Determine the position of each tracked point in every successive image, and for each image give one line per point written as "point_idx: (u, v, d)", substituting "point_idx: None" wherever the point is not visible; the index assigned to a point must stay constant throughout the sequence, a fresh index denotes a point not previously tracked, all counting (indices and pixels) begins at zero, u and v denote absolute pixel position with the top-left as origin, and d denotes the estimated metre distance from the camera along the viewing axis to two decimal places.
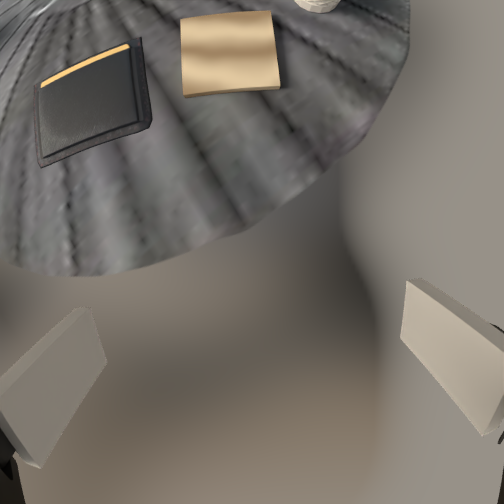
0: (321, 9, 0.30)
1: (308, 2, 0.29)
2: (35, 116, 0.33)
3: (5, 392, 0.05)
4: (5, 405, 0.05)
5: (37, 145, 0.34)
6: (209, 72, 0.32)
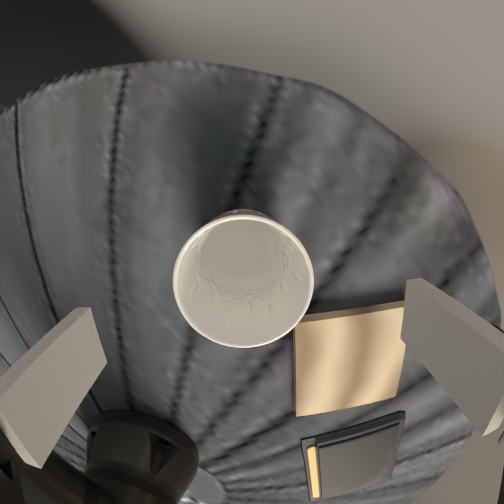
0: None
1: None
2: (344, 493, 0.36)
3: (5, 392, 0.05)
4: (5, 405, 0.05)
5: (371, 485, 0.36)
6: (379, 379, 0.29)
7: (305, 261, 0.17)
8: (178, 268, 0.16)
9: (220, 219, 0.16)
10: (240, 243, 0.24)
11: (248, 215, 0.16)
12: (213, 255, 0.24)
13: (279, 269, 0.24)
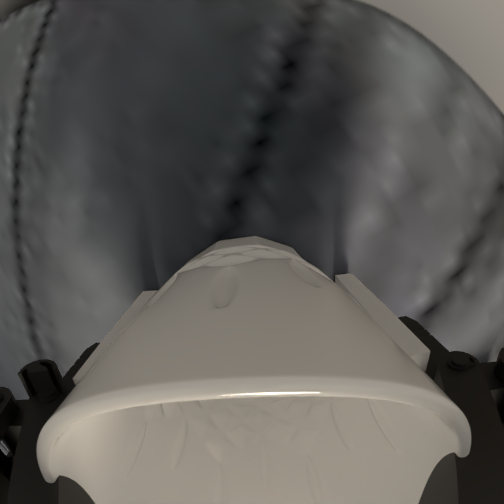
0: None
1: None
2: None
3: None
4: None
5: None
6: None
7: None
8: (53, 476, 0.03)
9: (139, 394, 0.02)
10: None
11: (295, 378, 0.03)
12: None
13: None
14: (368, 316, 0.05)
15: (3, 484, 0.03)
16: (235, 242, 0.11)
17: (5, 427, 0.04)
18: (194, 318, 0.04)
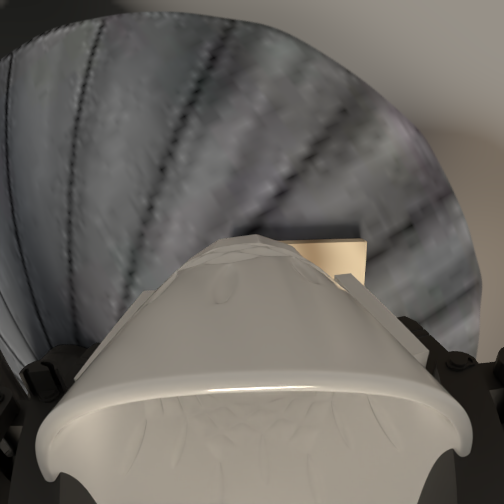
0: None
1: None
2: None
3: None
4: None
5: None
6: None
7: None
8: (52, 474, 0.03)
9: (138, 389, 0.02)
10: None
11: (295, 372, 0.03)
12: None
13: None
14: (369, 313, 0.05)
15: (4, 484, 0.03)
16: (235, 240, 0.11)
17: (6, 427, 0.04)
18: (194, 314, 0.04)
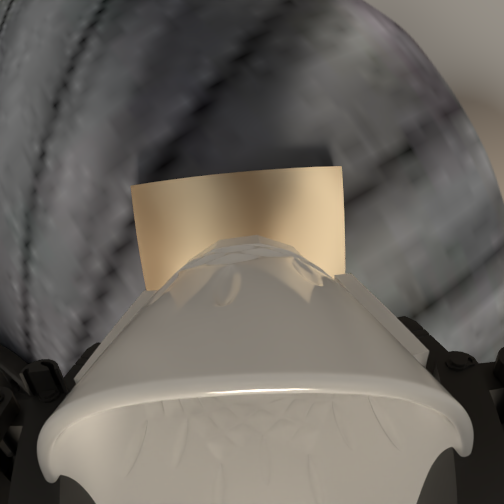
0: None
1: None
2: None
3: None
4: None
5: None
6: None
7: None
8: (54, 475, 0.03)
9: (141, 391, 0.02)
10: None
11: (298, 374, 0.03)
12: None
13: None
14: (370, 314, 0.05)
15: (4, 484, 0.03)
16: (236, 241, 0.11)
17: (6, 427, 0.04)
18: (196, 315, 0.04)
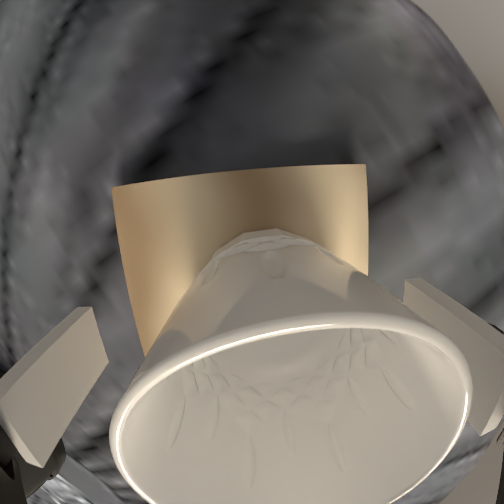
0: None
1: None
2: None
3: (7, 391, 0.05)
4: (7, 405, 0.05)
5: None
6: None
7: (460, 402, 0.05)
8: (121, 442, 0.04)
9: (241, 334, 0.04)
10: None
11: (351, 314, 0.04)
12: None
13: (340, 346, 0.12)
14: None
15: None
16: (260, 233, 0.12)
17: None
18: (261, 285, 0.05)
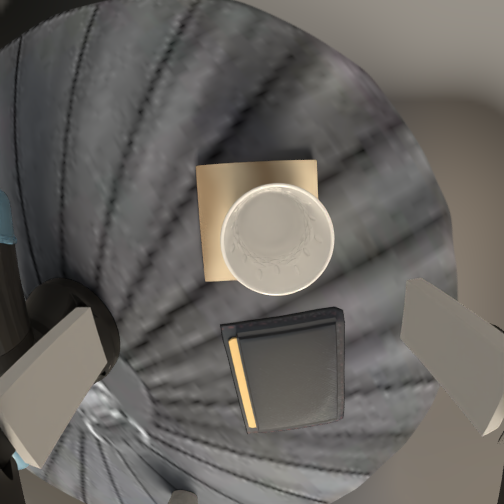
0: None
1: None
2: (287, 429, 0.38)
3: (5, 392, 0.05)
4: (5, 405, 0.05)
5: (320, 424, 0.38)
6: None
7: (327, 223, 0.20)
8: (225, 225, 0.20)
9: (262, 186, 0.20)
10: (268, 216, 0.28)
11: (284, 184, 0.20)
12: (245, 225, 0.28)
13: (301, 238, 0.28)
14: None
15: None
16: None
17: None
18: None
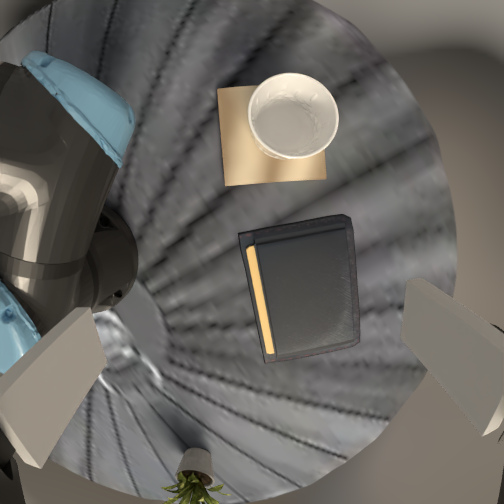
0: None
1: None
2: (305, 355, 0.41)
3: (5, 392, 0.05)
4: (5, 405, 0.05)
5: (337, 348, 0.41)
6: None
7: (331, 102, 0.23)
8: (252, 102, 0.23)
9: (279, 74, 0.23)
10: (280, 123, 0.31)
11: (296, 73, 0.23)
12: (261, 130, 0.31)
13: (310, 138, 0.31)
14: None
15: None
16: None
17: None
18: None
